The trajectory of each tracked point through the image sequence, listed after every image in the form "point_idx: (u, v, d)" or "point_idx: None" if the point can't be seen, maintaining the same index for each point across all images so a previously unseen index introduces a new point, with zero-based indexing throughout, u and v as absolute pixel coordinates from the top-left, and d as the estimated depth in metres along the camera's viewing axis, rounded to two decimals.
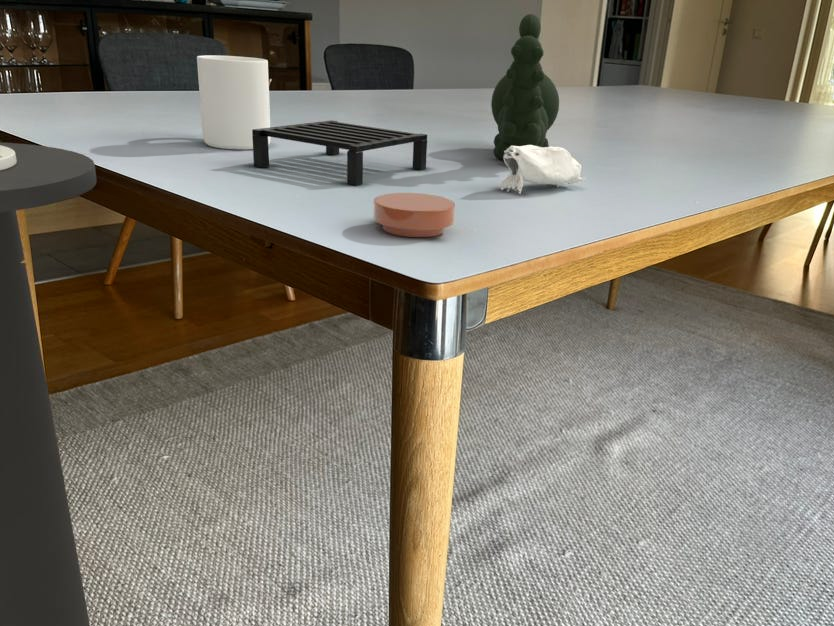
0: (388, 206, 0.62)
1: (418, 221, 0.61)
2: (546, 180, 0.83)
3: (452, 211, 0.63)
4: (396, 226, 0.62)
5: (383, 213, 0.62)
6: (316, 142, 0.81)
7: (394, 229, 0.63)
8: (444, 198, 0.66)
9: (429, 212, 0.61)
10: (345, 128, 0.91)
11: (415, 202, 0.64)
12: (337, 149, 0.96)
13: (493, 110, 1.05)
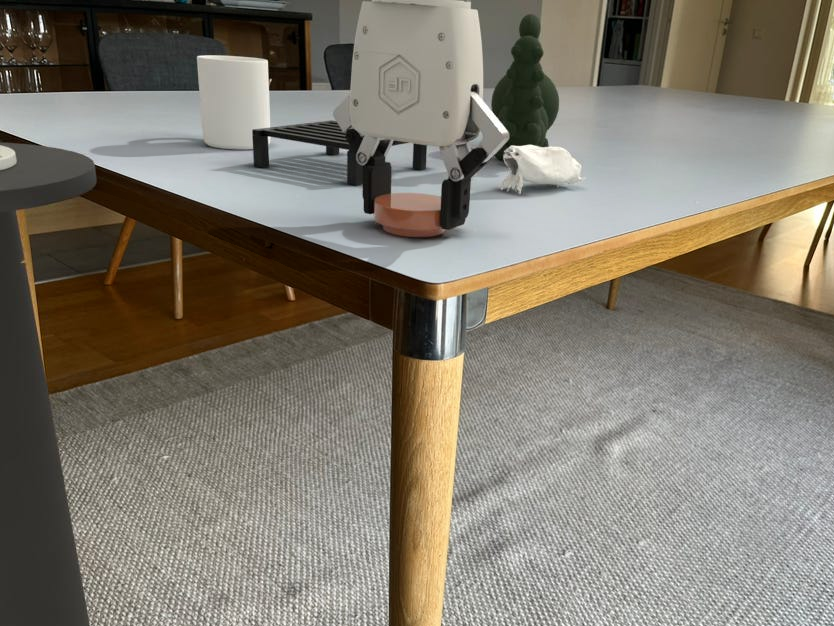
0: (388, 206, 0.62)
1: (418, 221, 0.61)
2: (546, 180, 0.83)
3: None
4: (396, 226, 0.62)
5: (383, 213, 0.62)
6: (316, 142, 0.81)
7: (394, 229, 0.63)
8: None
9: (429, 212, 0.61)
10: None
11: (415, 202, 0.64)
12: (337, 149, 0.96)
13: (493, 110, 1.05)
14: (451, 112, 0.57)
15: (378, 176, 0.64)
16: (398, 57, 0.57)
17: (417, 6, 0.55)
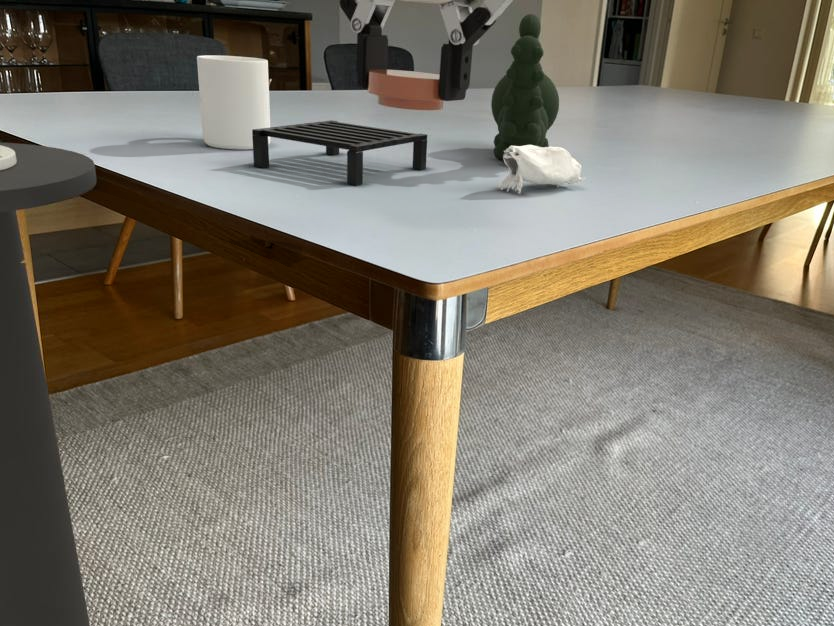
0: (383, 73, 0.58)
1: (415, 89, 0.57)
2: (546, 180, 0.83)
3: None
4: (391, 95, 0.58)
5: (378, 81, 0.58)
6: (316, 142, 0.81)
7: (389, 101, 0.59)
8: None
9: (427, 80, 0.57)
10: (345, 128, 0.91)
11: (412, 74, 0.60)
12: (337, 149, 0.96)
13: (493, 110, 1.05)
14: None
15: (374, 46, 0.60)
16: None
17: None
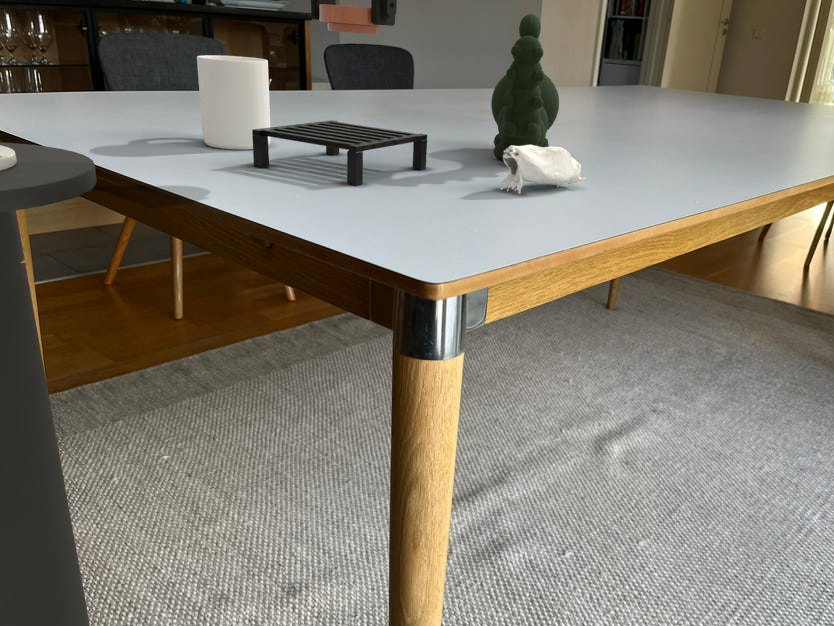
0: None
1: (353, 15, 0.74)
2: (546, 180, 0.83)
3: None
4: (335, 20, 0.75)
5: (325, 10, 0.75)
6: (316, 142, 0.81)
7: (335, 26, 0.76)
8: None
9: (362, 8, 0.74)
10: (345, 128, 0.91)
11: None
12: (337, 149, 0.96)
13: (493, 110, 1.05)
14: None
15: None
16: None
17: None
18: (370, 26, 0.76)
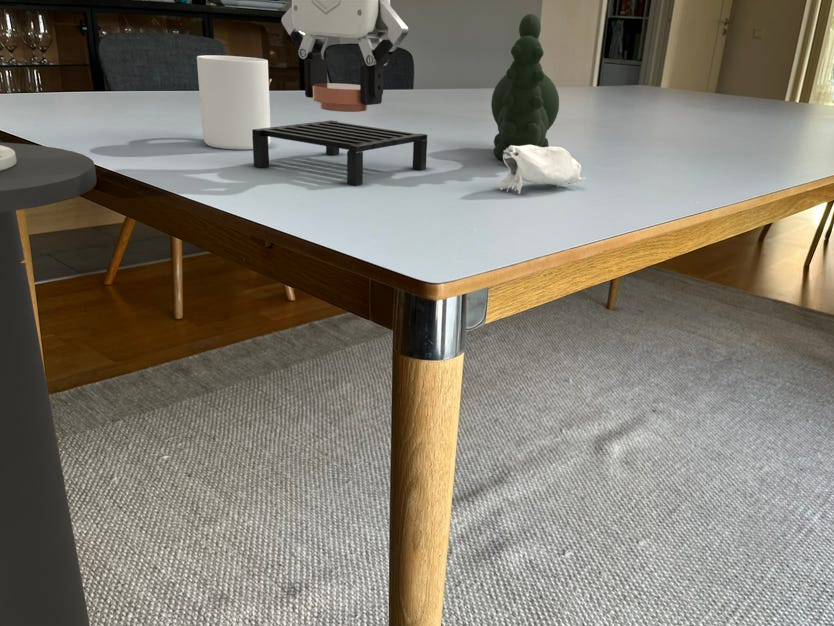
0: (321, 87, 0.82)
1: (344, 97, 0.82)
2: (546, 180, 0.83)
3: None
4: (327, 101, 0.82)
5: (318, 92, 0.83)
6: (316, 142, 0.81)
7: (327, 105, 0.84)
8: None
9: (352, 91, 0.82)
10: (345, 128, 0.91)
11: (343, 86, 0.84)
12: (337, 149, 0.96)
13: (493, 110, 1.05)
14: (363, 10, 0.78)
15: (316, 68, 0.85)
16: None
17: None
18: (359, 105, 0.84)
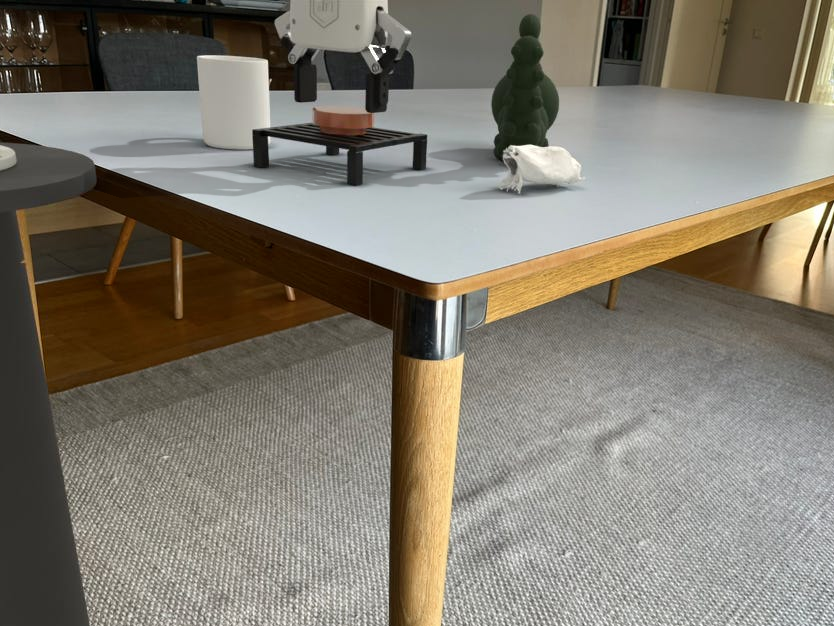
0: (322, 111, 0.83)
1: (344, 121, 0.83)
2: (545, 180, 0.83)
3: (371, 116, 0.85)
4: (327, 125, 0.83)
5: (318, 116, 0.84)
6: (316, 142, 0.81)
7: (327, 129, 0.85)
8: None
9: (351, 115, 0.83)
10: None
11: (343, 110, 0.85)
12: (337, 149, 0.96)
13: (493, 110, 1.05)
14: (361, 25, 0.78)
15: (305, 73, 0.86)
16: None
17: None
18: (359, 128, 0.85)
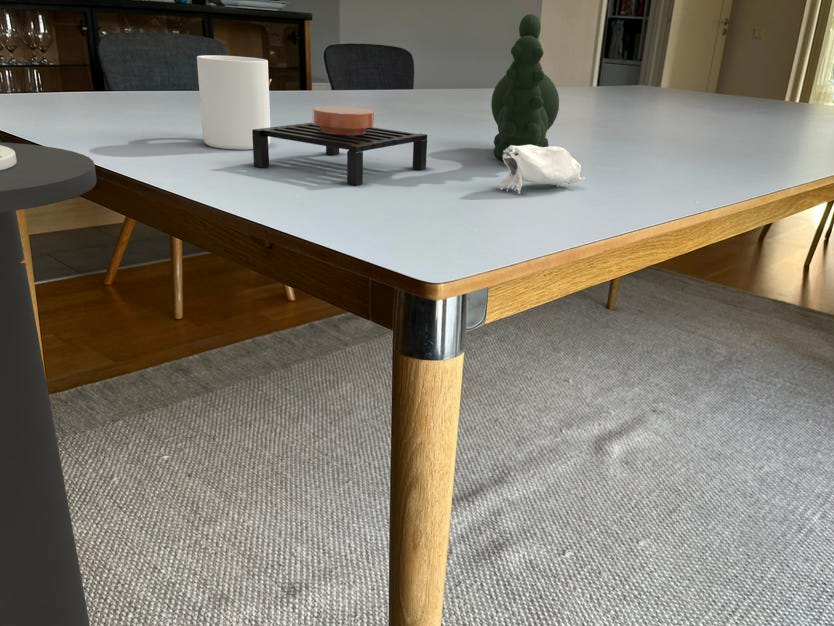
0: (322, 111, 0.83)
1: (344, 121, 0.83)
2: (545, 180, 0.83)
3: (371, 116, 0.85)
4: (327, 125, 0.83)
5: (318, 116, 0.84)
6: (316, 142, 0.81)
7: (327, 129, 0.85)
8: (367, 109, 0.88)
9: (351, 115, 0.83)
10: None
11: (343, 110, 0.85)
12: (337, 149, 0.96)
13: (493, 110, 1.05)
14: None
15: None
16: None
17: None
18: (359, 128, 0.85)
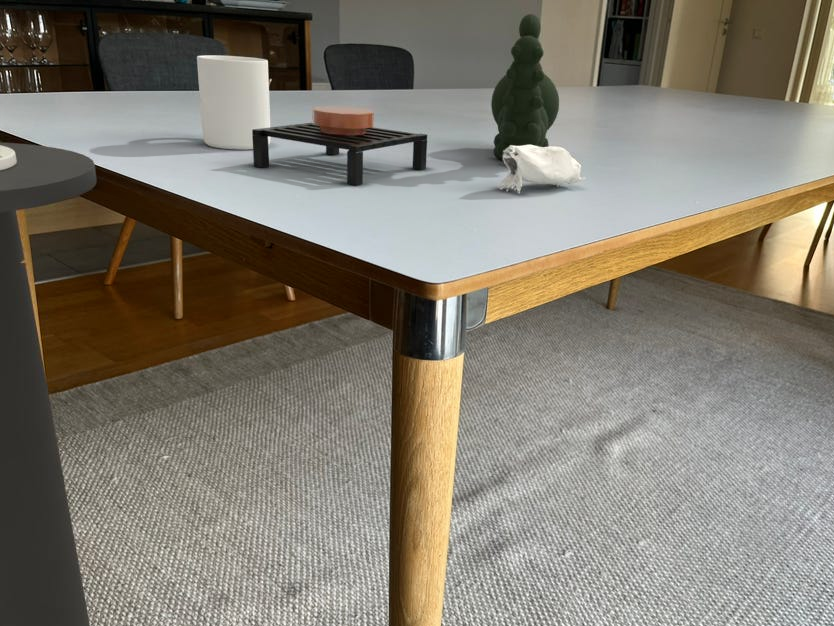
0: (322, 111, 0.83)
1: (344, 121, 0.83)
2: (545, 180, 0.83)
3: (371, 116, 0.85)
4: (327, 125, 0.83)
5: (318, 116, 0.84)
6: (316, 142, 0.81)
7: (327, 129, 0.85)
8: (367, 109, 0.88)
9: (351, 115, 0.83)
10: None
11: (343, 110, 0.85)
12: (337, 149, 0.96)
13: (493, 110, 1.05)
14: None
15: None
16: None
17: None
18: (359, 128, 0.85)
